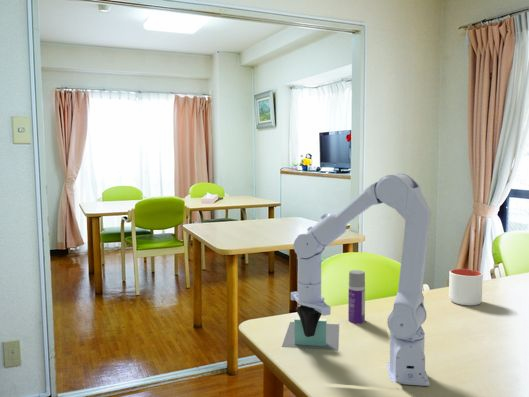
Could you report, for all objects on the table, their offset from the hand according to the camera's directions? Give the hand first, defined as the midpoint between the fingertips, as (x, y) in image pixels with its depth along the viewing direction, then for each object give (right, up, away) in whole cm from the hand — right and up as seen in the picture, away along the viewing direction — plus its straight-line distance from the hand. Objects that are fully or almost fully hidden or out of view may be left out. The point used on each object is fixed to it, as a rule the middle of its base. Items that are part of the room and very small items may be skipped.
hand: (309, 335), depth 112 cm
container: (+16, -3, +20) cm, 26 cm away
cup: (+55, -1, +39) cm, 68 cm away
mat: (+2, -3, +9) cm, 10 cm away
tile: (+1, -3, +4) cm, 5 cm away
